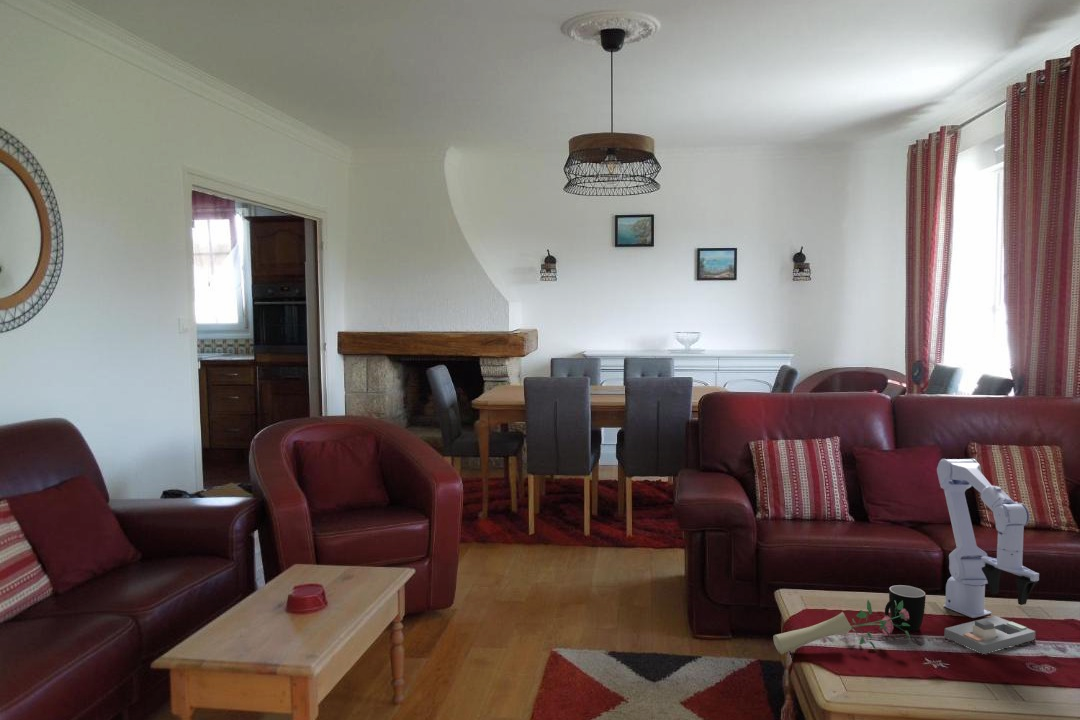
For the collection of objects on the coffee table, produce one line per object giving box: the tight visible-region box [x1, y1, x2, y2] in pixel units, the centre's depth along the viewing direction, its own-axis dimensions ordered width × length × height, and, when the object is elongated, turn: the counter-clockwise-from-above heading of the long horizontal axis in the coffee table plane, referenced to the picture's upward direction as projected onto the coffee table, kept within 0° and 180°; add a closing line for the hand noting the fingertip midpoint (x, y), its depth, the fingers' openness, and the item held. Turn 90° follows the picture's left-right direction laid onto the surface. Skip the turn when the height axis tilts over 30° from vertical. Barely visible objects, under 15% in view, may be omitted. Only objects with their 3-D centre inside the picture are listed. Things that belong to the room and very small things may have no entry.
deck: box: [943, 615, 1036, 655], centre depth 195 cm, size 11×20×3 cm, turn 113°
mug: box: [884, 584, 926, 632], centre depth 202 cm, size 12×9×10 cm
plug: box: [973, 619, 996, 641], centre depth 191 cm, size 4×4×6 cm
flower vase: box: [772, 599, 911, 656], centre depth 189 cm, size 12×12×35 cm
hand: (1008, 598), depth 196 cm, fingers open, 7 cm apart
